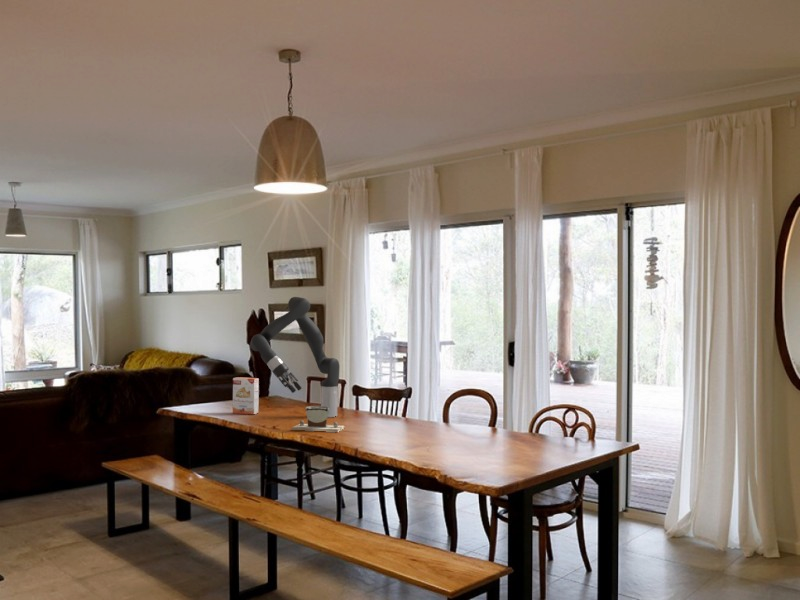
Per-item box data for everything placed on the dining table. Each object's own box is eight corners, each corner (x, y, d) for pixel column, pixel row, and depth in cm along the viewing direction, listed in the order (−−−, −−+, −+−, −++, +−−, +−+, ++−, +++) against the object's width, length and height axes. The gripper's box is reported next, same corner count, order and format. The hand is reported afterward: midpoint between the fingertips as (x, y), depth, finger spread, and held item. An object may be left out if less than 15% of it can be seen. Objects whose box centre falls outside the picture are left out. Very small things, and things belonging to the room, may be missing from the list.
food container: (331, 425, 349) (331, 405, 349) (328, 427, 343) (328, 407, 343) (307, 424, 350) (308, 405, 350) (304, 426, 344) (305, 407, 344)
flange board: (300, 426, 354) (300, 418, 354) (344, 428, 349) (344, 420, 349) (291, 430, 343) (292, 422, 343) (337, 432, 338) (337, 424, 338)
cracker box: (232, 413, 395) (232, 377, 396) (237, 412, 401) (237, 376, 402) (253, 415, 391) (254, 378, 392) (258, 413, 397) (259, 377, 397)
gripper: (277, 363, 345) (297, 387, 343) (287, 360, 359) (307, 384, 357) (267, 373, 346) (287, 397, 344) (277, 369, 360) (297, 393, 358)
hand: (297, 390), depth 351 cm, fingers open, 8 cm apart
